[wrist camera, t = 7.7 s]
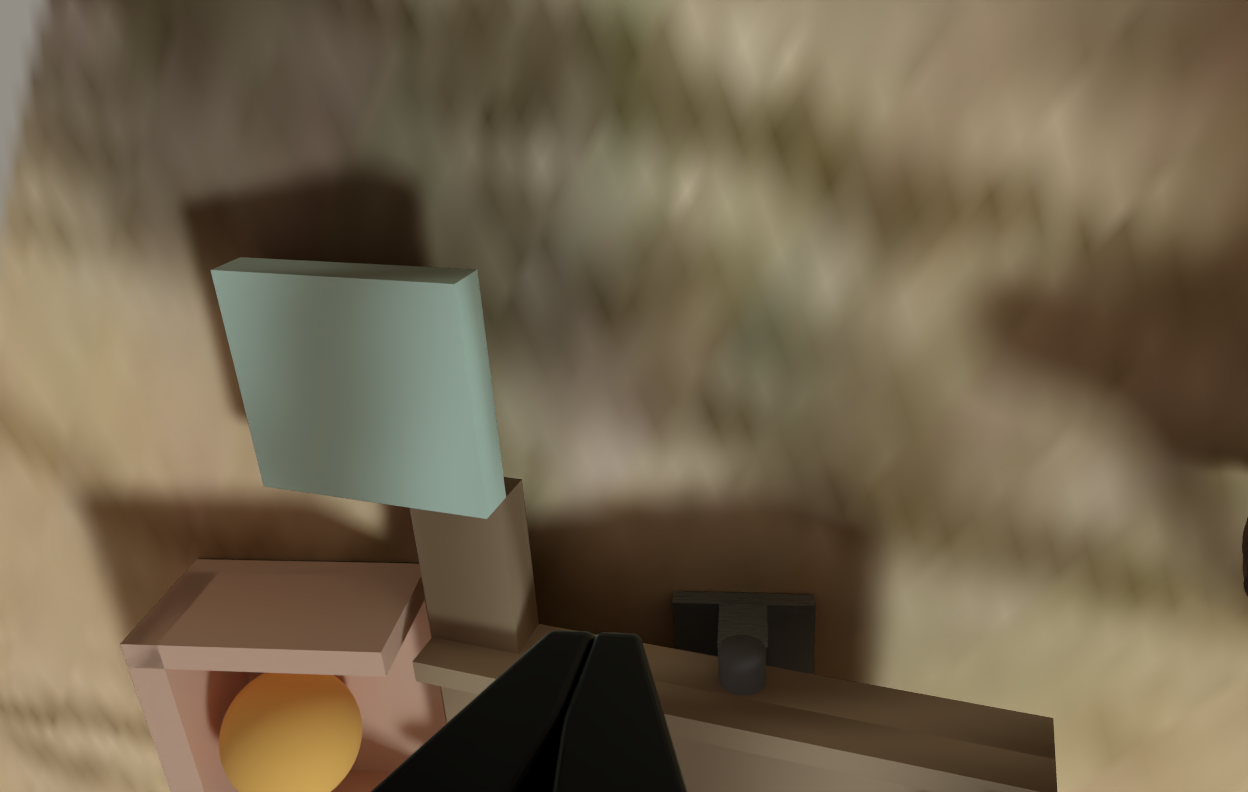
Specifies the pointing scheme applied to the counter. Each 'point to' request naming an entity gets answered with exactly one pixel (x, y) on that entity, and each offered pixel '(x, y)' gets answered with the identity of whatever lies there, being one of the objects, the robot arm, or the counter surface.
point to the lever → (500, 551)
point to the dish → (284, 657)
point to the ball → (290, 734)
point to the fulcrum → (748, 624)
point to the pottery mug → (1245, 556)
